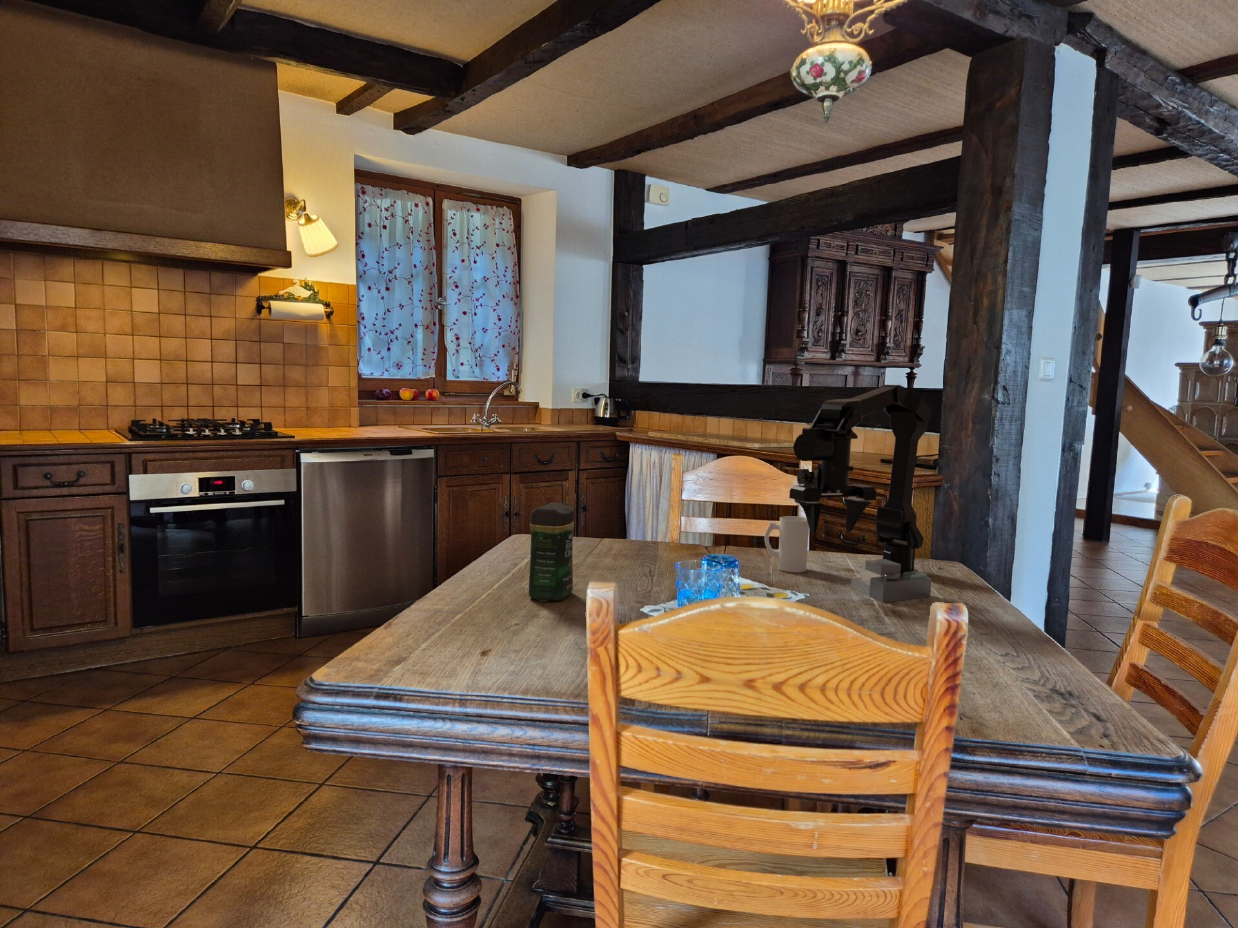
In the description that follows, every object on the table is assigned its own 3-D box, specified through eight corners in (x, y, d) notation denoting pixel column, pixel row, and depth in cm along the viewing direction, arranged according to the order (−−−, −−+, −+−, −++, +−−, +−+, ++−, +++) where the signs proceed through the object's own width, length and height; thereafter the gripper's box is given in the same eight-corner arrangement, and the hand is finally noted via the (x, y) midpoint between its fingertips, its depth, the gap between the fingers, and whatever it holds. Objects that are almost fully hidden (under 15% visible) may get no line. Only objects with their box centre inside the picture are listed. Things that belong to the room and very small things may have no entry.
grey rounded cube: (883, 586, 165) (884, 558, 164) (899, 592, 160) (900, 564, 159) (864, 587, 163) (865, 560, 162) (879, 594, 158) (881, 565, 158)
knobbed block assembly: (847, 587, 163) (849, 565, 162) (893, 583, 167) (894, 561, 166) (882, 602, 152) (883, 578, 152) (930, 597, 156) (931, 574, 156)
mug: (806, 567, 180) (809, 516, 179) (807, 574, 174) (810, 522, 172) (763, 564, 182) (765, 514, 181) (762, 570, 176) (765, 519, 174)
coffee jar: (561, 604, 146) (562, 509, 144) (523, 600, 149) (524, 506, 146) (578, 591, 156) (579, 501, 154) (541, 587, 158) (542, 499, 156)
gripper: (846, 456, 172) (841, 524, 173) (776, 456, 165) (772, 527, 166) (880, 461, 162) (875, 534, 163) (807, 461, 155) (803, 537, 156)
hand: (830, 532), depth 162 cm, fingers open, 9 cm apart
